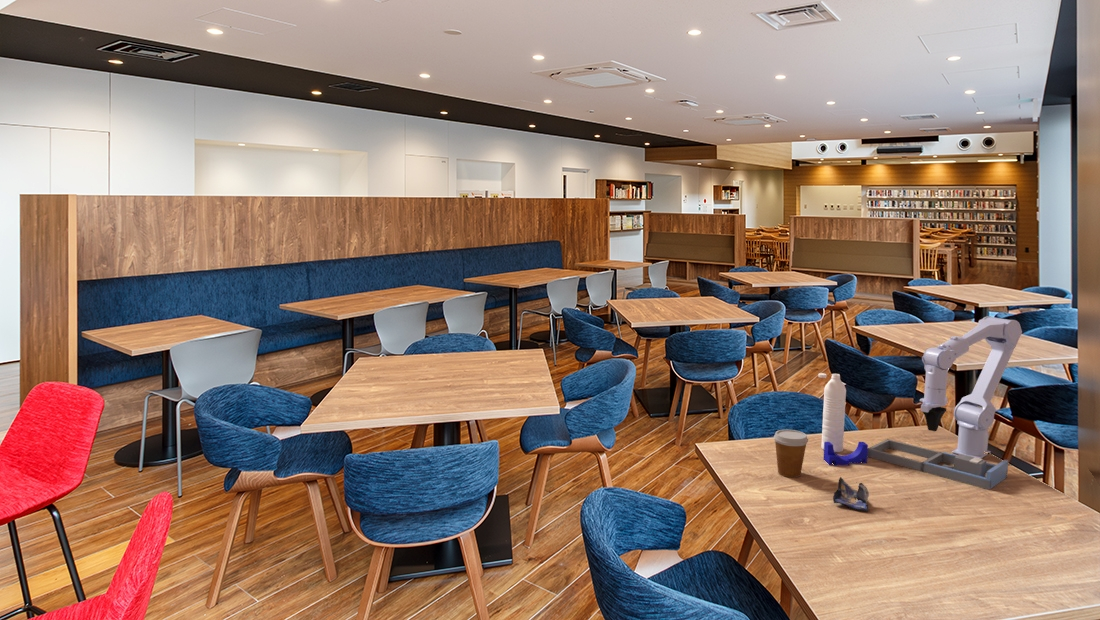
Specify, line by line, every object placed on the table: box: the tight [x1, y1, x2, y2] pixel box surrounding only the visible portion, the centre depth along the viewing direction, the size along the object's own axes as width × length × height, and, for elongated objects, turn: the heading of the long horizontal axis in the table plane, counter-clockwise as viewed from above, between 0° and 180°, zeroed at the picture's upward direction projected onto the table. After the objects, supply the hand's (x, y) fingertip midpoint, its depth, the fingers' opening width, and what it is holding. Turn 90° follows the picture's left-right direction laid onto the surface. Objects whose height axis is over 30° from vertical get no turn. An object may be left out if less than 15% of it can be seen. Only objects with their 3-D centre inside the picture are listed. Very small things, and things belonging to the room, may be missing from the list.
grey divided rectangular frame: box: [867, 438, 1009, 490], centre depth 202 cm, size 14×34×5 cm, turn 39°
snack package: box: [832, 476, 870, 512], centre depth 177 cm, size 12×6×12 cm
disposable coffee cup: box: [773, 429, 809, 478], centre depth 197 cm, size 10×10×12 cm
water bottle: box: [817, 372, 847, 453], centre depth 216 cm, size 9×6×25 cm
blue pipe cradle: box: [823, 441, 869, 466], centre depth 206 cm, size 12×4×6 cm, turn 89°
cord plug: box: [941, 454, 987, 478], centre depth 196 cm, size 4×11×5 cm, turn 39°
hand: (932, 430), depth 206 cm, fingers closed
